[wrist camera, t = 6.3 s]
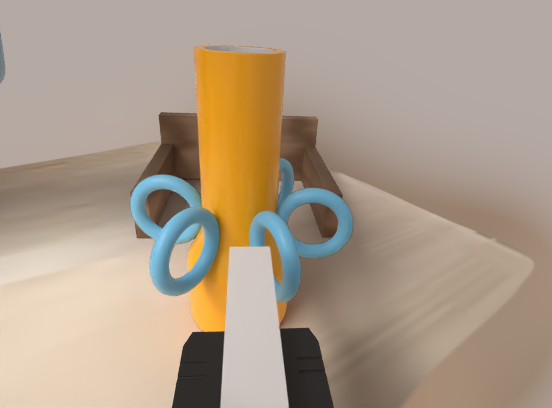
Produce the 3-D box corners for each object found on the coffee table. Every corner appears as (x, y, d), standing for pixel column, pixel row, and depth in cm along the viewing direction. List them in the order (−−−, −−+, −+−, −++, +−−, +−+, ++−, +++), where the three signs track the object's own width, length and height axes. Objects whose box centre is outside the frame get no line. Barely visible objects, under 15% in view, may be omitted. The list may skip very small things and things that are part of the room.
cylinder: (136, 272, 25) (98, 36, 18) (269, 240, 30) (278, 41, 23) (180, 434, 16) (135, 69, 9) (366, 350, 20) (433, 66, 13)
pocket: (137, 237, 29) (124, 155, 26) (167, 174, 41) (161, 112, 37) (336, 237, 30) (347, 159, 27) (309, 176, 42) (315, 116, 39)
